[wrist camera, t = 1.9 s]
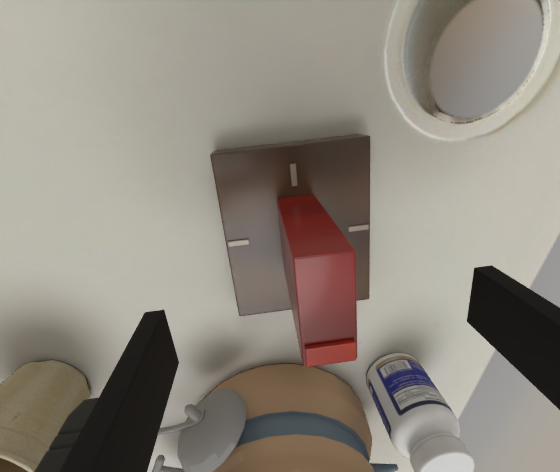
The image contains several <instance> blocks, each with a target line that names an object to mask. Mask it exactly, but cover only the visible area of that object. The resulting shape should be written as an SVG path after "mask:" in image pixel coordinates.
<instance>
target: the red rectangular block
mask: <svg viewBox="0 0 560 472" xmlns="http://www.w3.org/2000/svg"><path fill="white" fill-rule="evenodd" d="M277 207H278V216H279V226H280V235H281V244H282V253H283V262H284V272H285V277H286V282H287V287H288V292H289V297H290V302H291V307H292V312H293V317H294V323H295V328H296V333H297V338H298V343H299V348H300V353H301V358H302V363H303V365H304V366H307V367H312V366H319V365H326V364H333V363H340V362H347V361H354V360H356V359H357V312H356V250H355V249H354V248H353V246H352V245H351V243H350V242H349V241H348V239H347V238H346V237H345V235H344V234H343V233H342V231H341V230H340V229H339V227H338V226H337V225H336V223H335V222H334V221H333V219H332V218H331V217H330V215H329V214H328V213H327V211H326V210H325V209H324V207H323V206H322V205H321V203H320V202H319V201H318V199H317V198H316V196H315V195H305V196H297V197H288V198H280V199H277Z"/></svg>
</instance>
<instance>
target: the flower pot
mask: <svg viewBox="0 0 560 472" xmlns="http://www.w3.org/2000/svg"><path fill="white" fill-rule="evenodd" d="M89 397H90V390H89V389H88V385H87V381H86V378H85V377H84V375H83V374H82V373H80V372H79V371H78V370H77V369H75V368H74V367H72V366H70V365H68V364H65V363H63V362H59V361H54V360H50V361H44V362H29V363H27V364H25V365H23V366H21V367H20V368H18V369H17V370H16V371H15V372H14V373H13V374H12V375H11V376H9V377H8V378H7V379H6V380H5V381H4V382H2V383H1V384H0V472H34V471H35V470H36V468H37V466H38V465H39V463H40V461H41V460H42V458H43V456H44V455H45V453H46V452H47V451H49V447H50V445H51V443H52V442H53V440H54V438H55V437H56V436H58V432H59V430H60V429H61V427H62V425H63V424H64V422H65V420H66V419H67V417H68V415H69V414H70V413H71V412H72V411H73V410H74V409H75V408H76V407H77V406H78V405H79V404H80V403H81V402H82V401H83V400H87V399H89Z"/></svg>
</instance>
